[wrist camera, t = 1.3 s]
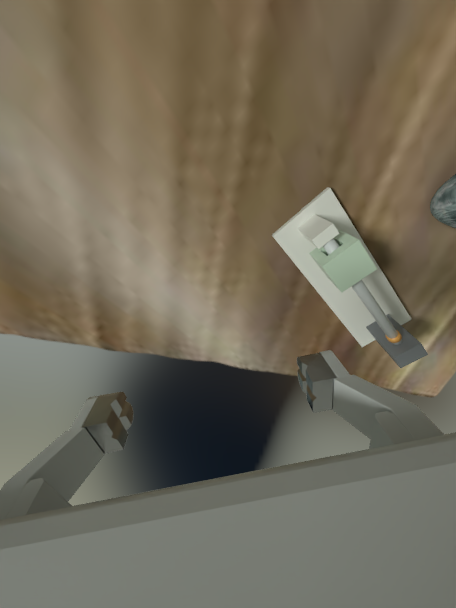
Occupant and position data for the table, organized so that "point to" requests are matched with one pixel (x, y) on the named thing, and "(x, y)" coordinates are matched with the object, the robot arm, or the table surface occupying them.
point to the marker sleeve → (344, 261)
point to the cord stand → (358, 298)
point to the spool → (445, 203)
